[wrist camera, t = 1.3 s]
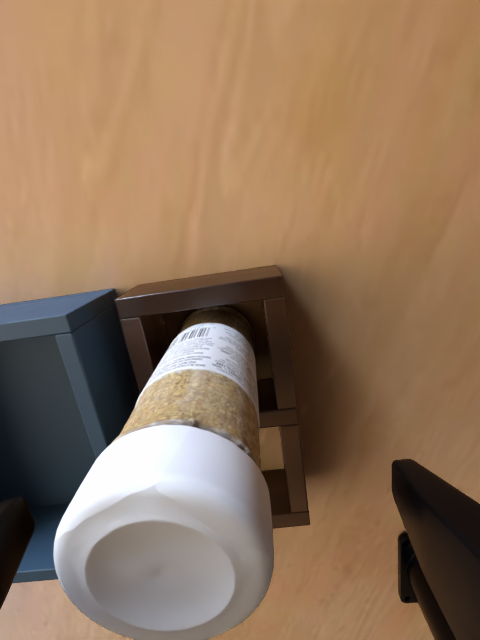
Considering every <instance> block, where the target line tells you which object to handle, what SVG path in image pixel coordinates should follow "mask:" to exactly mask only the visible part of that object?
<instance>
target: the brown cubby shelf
mask: <svg viewBox="0 0 480 640" xmlns="http://www.w3.org/2000/svg"><path fill="white" fill-rule="evenodd" d="M284 296H285V292H284V282H283V276H282V274H281V273H280V271H279V270H278V268H277V266H276V265H271V266H265V267H258V268H251V269H244V270H237V271H230V272H223V273H216V274H210V275H203V276H196V277H189V278H182V279H175V280H168V281H162V282H155V283H148V284H141V285H138V286H136V287H134V288H133V289H131V290H129V291H128V292H126V293H125V294H123V295H121V296H120V297H118V298H117V299H115V304H116V307H117V311H118V315H119V318H120V319H121V320H120V322H121V326H122V330H123V334H124V337H125V341H126V345H127V348H128V352H129V356H130V360H131V363H132V367H133V371H134V375H135V378H136V382H137V386H138V390H139V393H140V394H141V392H142V391H143V389H144V388H145V386H146V384H147V383H148V381H149V379H150V377H151V376H152V374H153V373H154V371H155V369H156V368H157V366H158V364H159V363H160V361H161V359H162V358H163V356H164V355H165V353H166V351H167V350H168V348H169V343H168V339H167V334H166V330H165V325H164V321H163V317H162V314H163V313H171V312H178V311H185V310H192V309H199V308H207V307H214V306H221V305H228V304H235V303H242V302H250V301H257V300H262V302H263V310H264V317H265V325H266V333H267V340H268V348H269V355H270V363H271V371H272V378H273V379H265V380H257V392H258V406H259V421H260V428H267V427H276V426H279V431H280V439H281V446H282V454H283V462H284V469H280V470H271V471H262V472H261V473H262V475H263V477H264V479H265V481H266V483H267V487H268V490H269V495H270V504H271V515H272V529H273V528H283V527H294V526H304V525H310V518H309V510H308V501H307V491H306V482H305V473H304V464H303V455H302V446H301V437H300V428H299V419H298V410H297V400H296V391H295V382H294V373H293V364H292V355H291V346H290V337H289V328H288V319H287V310H286V300H285V297H284Z"/></svg>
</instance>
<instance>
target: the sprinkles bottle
mask: <svg viewBox="0 0 480 640" xmlns="http://www.w3.org/2000/svg"><path fill="white" fill-rule="evenodd" d="M254 348H255V337H254V334H253V330H252V327H251V326H250V324H249V322H248V321H247V320H246V319H245V317H244V316H243V315H242V314H241V313H238V312H237V311H235V310H234V309H231V308H228V307H225V306H214V307H207V308H201V309H200V310H196V311H195V312H193V313H192V314H191V315H190V316H189V317H188V318H187V319H186V320H185V321H184V322H183V324H182V326H181V328H180V330H179V333H178V336H177V337H176V338H175V339H174V340H173V342H172V343H171V345H170V346H169V348H168V350H167V351H166V353H165V355H164V356H163V358H162V359H161V361H160V363H159V364H158V366H157V368H156V369H155V371H154V373H153V374H152V376H151V377H150V379H149V381H148V383H147V384H146V386H145V388H144V389H143V391H142V392H141V394H140V396H139V398H138V400H137V402H136V405H135V409H134V410H133V412H132V414H131V416H130V418H129V419H128V421H127V423H126V424H125V426H124V428H123V430H122V432H121V433H120V435H119V436H118V437H117V438H116V439H115V440H114V441H113V442H112V443H111V445H109V446H108V447H107V448H106V449H105V450H104V451H103V452H102V453H101V454H100V456H99V457H98V458H97V459H96V461H95V463H94V464H93V466H92V467H91V469H90V471H89V472H88V474H87V475H86V477H85V479H84V480H83V482H82V484H81V485H80V487H79V489H78V491H77V492H76V494H75V496H74V498H73V499H72V501H71V503H70V505H69V506H68V508H67V510H66V512H65V513H64V515H63V517H62V519H61V521H60V524H59V526H58V529H57V532H56V536H55V540H54V552H53V556H54V565H55V570H56V574H57V576H58V579H59V582H60V584H61V586H62V588H63V590H64V592H65V593H66V594H67V596H68V597H69V599H70V600H71V601H72V603H73V604H74V605H75V606H76V607H77V608H78V609H79V610H80V611H81V612H82V613H84V614H85V615H86V616H87V617H89V618H90V619H91V620H93V621H94V622H96V623H98V624H99V625H101V626H103V627H104V628H106V629H108V630H110V631H113V632H115V633H117V634H120V635H122V636H125V637H129V638H132V639H136V640H206V639H209V638H211V637H214V636H217V635H220V634H222V633H224V632H226V631H228V630H230V629H232V628H234V627H235V626H237V625H238V624H240V623H242V622H243V621H244V620H245V619H247V618H248V617H249V616H250V615H251V614H252V612H253V611H254V610H255V609H256V608H257V607H258V606H259V604H260V603H261V601H262V599H263V598H264V596H265V594H266V592H267V590H268V588H269V585H270V581H271V577H272V573H273V568H274V547H273V529H272V515H271V504H270V495H269V490H268V487H267V483H266V481H265V479H264V477H263V475H262V473H261V460H260V447H259V428H260V421H259V406H258V392H257V377H256V362H255V356H254Z"/></svg>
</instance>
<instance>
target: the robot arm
mask: <svg viewBox="0 0 480 640" xmlns="http://www.w3.org/2000/svg"><path fill="white" fill-rule="evenodd" d="M392 493H393V497H394V500H395V503H396V505H397V508H398V511H399V513H400V516H401V518H402V521H403V523H404V526H405V528H406V531H407V533H403V534H401V535H400V536H399V537H398V593H399V596H400V599H401V601H402V602H404V603H415V602H418V603H419V606H420V608H421V610H422V612H423V615H424V617H425V619H426V621H427V623H428V626H429V628H430V630H431V632H432V635H433V637H434V639H435V640H480V504H479V503H477V502H476V501H474V500H473V499H471V498H470V497H468V496H467V495H465V494H464V493H462V492H461V491H459V490H458V489H456V488H455V487H453V486H452V485H450V484H449V483H447V482H446V481H444V480H443V479H441V478H440V477H438V476H437V475H435V474H433V473H432V472H430V471H429V470H427V469H426V468H424V467H423V466H421V465H420V464H418V463H417V462H415V461H414V460H411V459H401V460H395V461H393V463H392ZM34 529H35V521H34V518H33V516H32V513H31V511H30V508H29V506H28V504H27V501H26V499H24V498H23V497H12V498H6V499H4V500H2V501H0V609H1V607H2V605H3V603H4V601H5V598H6V596H7V594H8V592H9V589H10V587H11V585H12V582H13V580H14V578H15V575H16V573H17V571H18V568H19V566H20V564H21V561H22V559H23V556H24V554H25V552H26V549H27V547H28V545H29V542H30V540H31V538H32V535H33V533H34Z"/></svg>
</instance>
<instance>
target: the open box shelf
mask: <svg viewBox="0 0 480 640" xmlns="http://www.w3.org/2000/svg"><path fill="white" fill-rule="evenodd" d="M115 299H117V295H116V291H115V289H107V290H100V291H93V292H86V293H79V294H72V295H66V296H59V297H52V298H45V299H38V300H31V301H24V302H17V303H11V304H4V305H0V501H2V500H4V499H6V498H12V497H23V498H24V499H26V501H27V504H28V506H29V508H30V511H31V513H32V516H33V518H34V521H35V529H34V533H33V535H32V538H31V540H30V542H29V545H28V547H27V549H26V552H25V554H24V556H23V559H22V561H21V564H20V566H19V568H18V571H17V573H16V575H15V578H14V580H13V582H12V583H21V582H32V581H43V580H54V579H58V576H57V574H56V570H55V565H54V556H53V552H54V540H55V536H56V532H57V529H58V526H59V524H60V521H61V519H62V517H63V515H64V513H65V512H66V510H67V508H68V506H69V505H70V503H71V501H72V499H73V498H74V496H75V494H76V492H77V491H78V489H79V487H80V485H81V484H82V482H83V480H84V479H85V477H86V475H87V474H88V472H89V471H90V469H91V467H92V466H93V464H94V463H95V461H96V459H97V458H98V457H99V456H100V454H101V453H102V452H103V451H104V450H105V449H106V448H107V447H108V446H109V445H111V443H112V442H113V441H114V440H115V439H116V438H117V437H118V436H119V435H120V433H121V432H122V430H123V428H124V426H125V424H126V423H127V421H128V419H129V418H130V416H131V414H132V412H133V410H134V409H135V405H136V402H137V400H138V398H139V396H140V393H139V390H138V386H137V382H136V378H135V375H134V371H133V367H132V363H131V360H130V356H129V352H128V348H127V345H126V341H125V337H124V334H123V330H122V326H121V322H120V320H121V319H120V318H119V315H118V311H117V307H116V304H115Z"/></svg>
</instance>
